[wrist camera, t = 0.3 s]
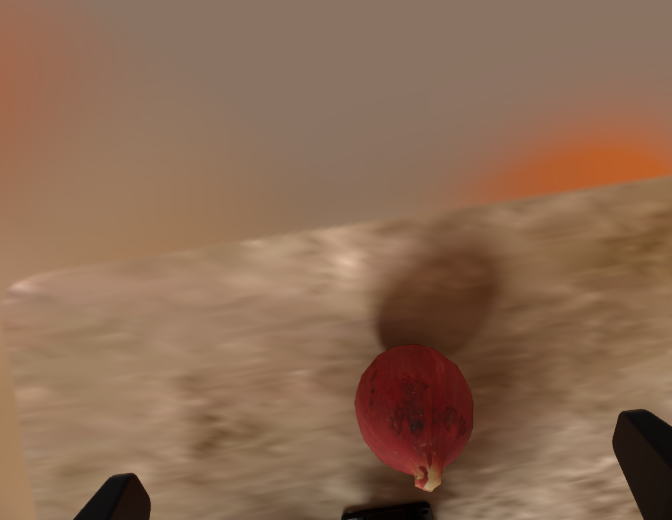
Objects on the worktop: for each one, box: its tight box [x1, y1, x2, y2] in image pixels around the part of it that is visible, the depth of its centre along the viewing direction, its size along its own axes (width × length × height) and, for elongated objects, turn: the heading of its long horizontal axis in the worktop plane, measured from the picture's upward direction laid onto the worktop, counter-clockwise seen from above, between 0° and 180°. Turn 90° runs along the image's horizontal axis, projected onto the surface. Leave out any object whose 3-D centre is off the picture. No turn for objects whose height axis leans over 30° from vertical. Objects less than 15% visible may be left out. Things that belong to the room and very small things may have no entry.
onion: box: [354, 344, 473, 492], centre depth 23 cm, size 6×6×8 cm
